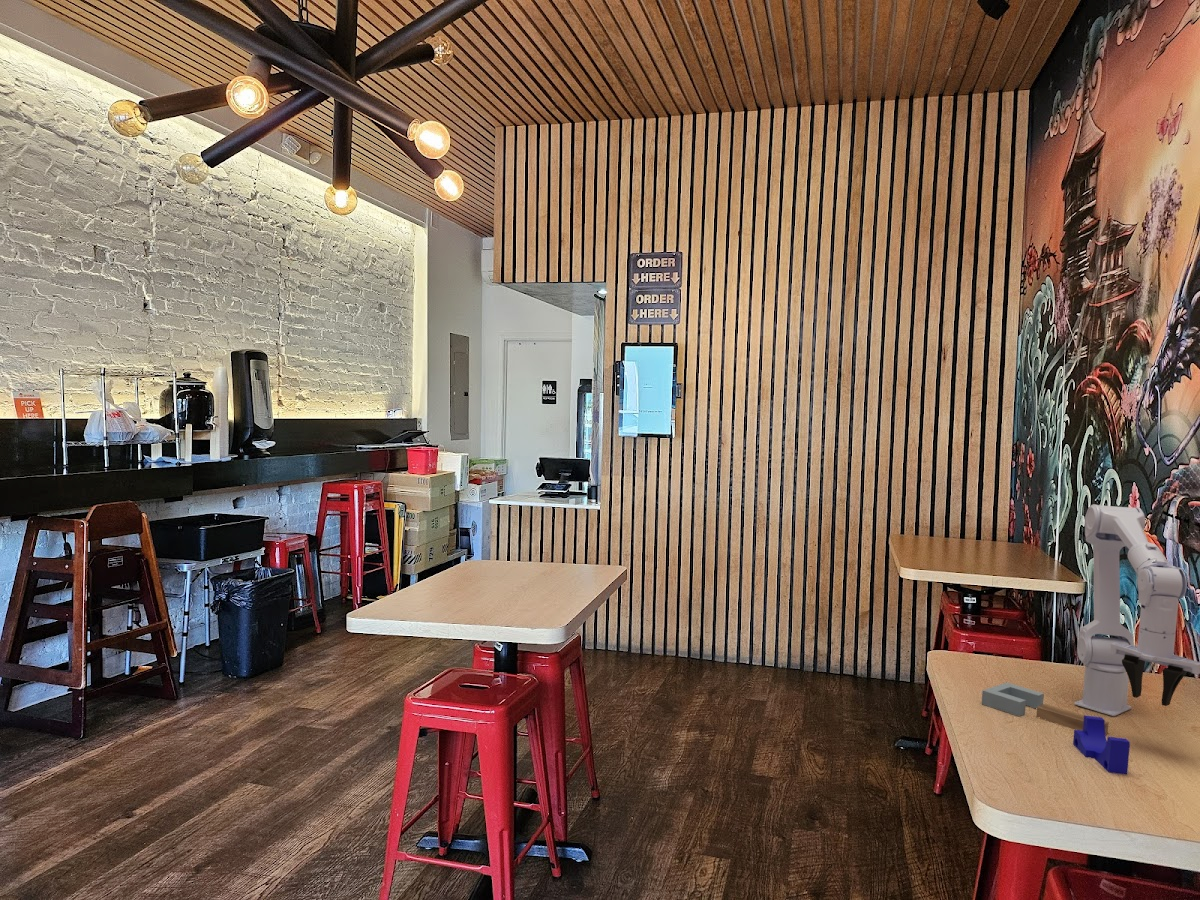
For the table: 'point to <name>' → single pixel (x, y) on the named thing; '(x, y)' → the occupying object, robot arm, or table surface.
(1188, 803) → the table surface
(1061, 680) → the table surface
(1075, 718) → the slat
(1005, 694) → the end cap
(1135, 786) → the table surface
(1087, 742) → the cable clip
